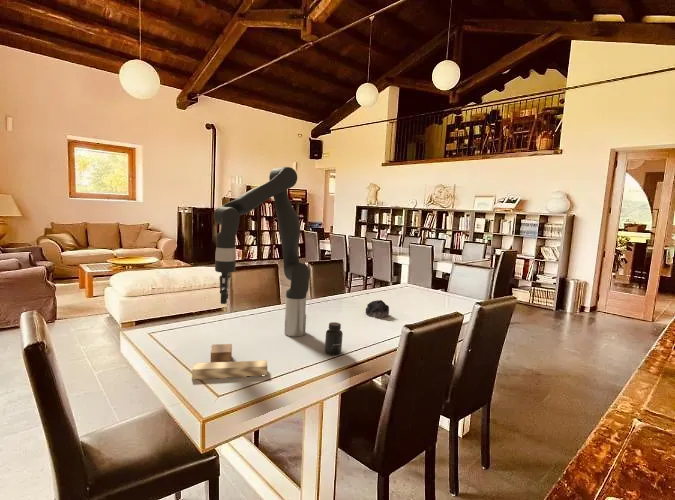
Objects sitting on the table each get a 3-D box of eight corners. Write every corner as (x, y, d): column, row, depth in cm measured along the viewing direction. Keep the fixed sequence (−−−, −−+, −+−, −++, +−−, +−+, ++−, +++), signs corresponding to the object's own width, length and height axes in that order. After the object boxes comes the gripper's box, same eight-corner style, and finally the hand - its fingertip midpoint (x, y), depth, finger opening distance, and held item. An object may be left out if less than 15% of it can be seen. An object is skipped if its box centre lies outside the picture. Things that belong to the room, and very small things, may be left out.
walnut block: (231, 356, 139) (231, 343, 139) (230, 365, 132) (231, 351, 131) (212, 357, 137) (212, 344, 137) (210, 366, 130) (210, 352, 129)
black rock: (368, 311, 216) (367, 295, 214) (391, 312, 212) (390, 296, 211) (363, 319, 203) (362, 302, 201) (388, 320, 199) (387, 303, 198)
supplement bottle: (335, 357, 143) (337, 327, 142) (321, 353, 147) (322, 324, 146) (344, 352, 149) (346, 323, 148) (330, 348, 153) (332, 320, 152)
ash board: (266, 369, 129) (266, 360, 129) (267, 376, 124) (267, 366, 124) (194, 373, 123) (194, 363, 123) (191, 379, 119) (192, 369, 118)
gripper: (234, 262, 134) (233, 306, 136) (236, 257, 148) (235, 296, 150) (213, 261, 133) (212, 306, 134) (217, 256, 147) (216, 296, 148)
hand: (224, 301), depth 142 cm, fingers open, 7 cm apart
